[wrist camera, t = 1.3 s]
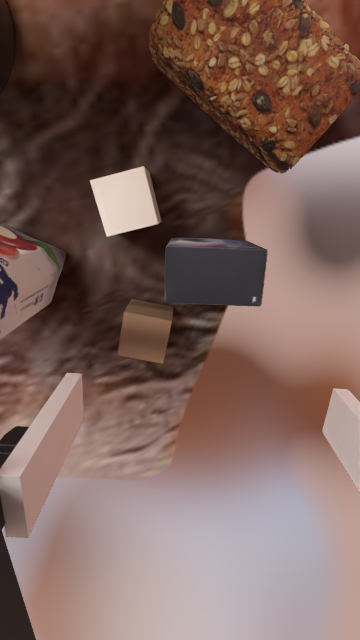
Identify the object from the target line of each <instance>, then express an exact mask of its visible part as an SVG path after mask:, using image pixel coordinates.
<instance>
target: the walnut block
mask: <svg viewBox="0 0 360 640" xmlns="http://www.w3.org/2000/svg"><path fill="white" fill-rule="evenodd" d="M172 317H173V307H171V306H166V305H161V304H156V303H151V302H146V301H141V300H136V299H131V300H130V302H129V304H128V306H127V307H126V309H125V311H124V315H123V321H122V328H121V334H120V341H119V347H118V354H117V355H119V356H124V357H130V358H135V359H140V360H145V361H151V362H156V363H161V364H163V362H164V357H165V353H166V348H167V343H168V338H169V334H170V329H171V324H172Z"/></svg>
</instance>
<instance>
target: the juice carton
mask: <svg viewBox="0 0 360 640" xmlns="http://www.w3.org/2000/svg"><path fill="white" fill-rule="evenodd" d="M65 259H66V252H65V251H63V250H61V249H59V248H57V247H55V246H52V245H50V244H47V243H45V242H42V241H39V240H37V239H34V238H32V237H30V236H28V235H26V234H24V233H22V232H20V231H18V230H16V229H14V228H12V227H9V226H7V225H4V224H0V339H1V338H3V337H4V336H6V335H7V334H8V333H10V332H11V331H13V330H14V329H15V328H17V327H18V326H20V325H21V324H22V323H24V322H25V321H27V320H28V319H29V318H31V317H32V316H33V315H35V314H36V313H38V312H39V311H40V310H42V309H43V308H45V307H46V306H47V305H48V304H50V302H51V301H52V298H53V295H54V292H55V289H56V285H57V282H58V278H59V276H60V274H61V271H62V268H63V265H64V262H65Z"/></svg>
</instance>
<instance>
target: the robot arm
mask: <svg viewBox="0 0 360 640" xmlns="http://www.w3.org/2000/svg"><path fill="white" fill-rule="evenodd" d="M14 53H15V37H14V28H13V23H12V18H11V14H10V11H9V8H8V5H7V2H6V0H0V91H1V90H2V89H3V87H4V86H5V84H6V82H7V80H8V78H9V75H10V72H11V69H12V65H13V60H14ZM83 419H84V410H83V389H82V374H78V373H66V375H65V376H64V378H63V379H62V381H61V382H60V384H59V385H58V386H57V388H56V389H55V391H54V392H53V394H52V395H51V396H50V398H49V399H48V401H47V402H46V404H45V405H44V407H43V408H42V409H41V411H40V412H39V414H38V415H37V417H36V418H35V420H34V421H33V422H32V424H31V425H30V427H20V426H16V427H15V428H13V429H12V430H11V431H9V432H8V433H6V434H5V435H4V436H3V438H2V439H1V440H0V640H36V638H35V635H34V632H33V629H32V626H31V623H30V619H29V616H28V613H27V610H26V607H25V604H24V600H23V597H22V594H21V591H20V588H19V584H18V581H17V578H16V575H15V572H14V568H13V565H12V562H11V559H10V556H9V552H8V549H7V546H6V543H5V540H4V536H3V533H2V528H3V527H4V526H5V532H6V537H22V538H28V537H29V535H30V533H31V531H32V529H33V527H34V524H35V522H36V520H37V518H38V516H39V514H40V512H41V509H42V507H43V505H44V503H45V501H46V498H47V497H48V494H49V492H50V490H51V488H52V486H53V483H54V481H55V479H56V477H57V475H58V473H59V471H60V469H61V466H62V464H63V462H64V460H65V458H66V456H67V453H68V451H69V449H70V447H71V445H72V443H73V441H74V438H75V436H76V434H77V432H78V430H79V428H80V426H81V423H82V421H83ZM322 432H323V434H324V436H325V437H326V439H327V440H328V442H329V444H330V445H331V447H332V448H333V450H334V452H335V453H336V455H337V456H338V458H339V460H340V461H341V463H342V464H343V466H344V468H345V469H346V471H347V472H348V474H349V476H350V477H351V479H352V481H353V482H354V484H355V486H356V487H357V489H358V490H359V492H360V402H359V401H358V400H357V399H356V398H355V397H354V396H353V394H351V392H350V391H349V390H348V389H333V392H332V396H331V400H330V403H329V407H328V412H327V415H326V419H325V423H324V427H323V430H322Z"/></svg>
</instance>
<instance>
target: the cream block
mask: <svg viewBox="0 0 360 640" xmlns="http://www.w3.org/2000/svg"><path fill="white" fill-rule="evenodd" d="M90 183H91V186H92V190H93V193H94V196H95V200H96V203H97V206H98V209H99V213H100V216H101V219H102V223H103V226H104V229H105V232H106V236H107V237H108V236H112V235H116V234H120V233H124V232H128V231H132V230H136V229H140V228H144V227H148V226H152V225H156V224H159V223H160V222H161V218H160V213H159V209H158V205H157V201H156V197H155V193H154V189H153V185H152V181H151V177H150V173H149V171H148V170H147V169H146V168H145V167H144V166H142V167H139V168H135V169H131V170H127V171H123V172H120V173H116V174H112V175H108V176H105V177H101V178H97V179H93V180H90Z"/></svg>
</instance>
